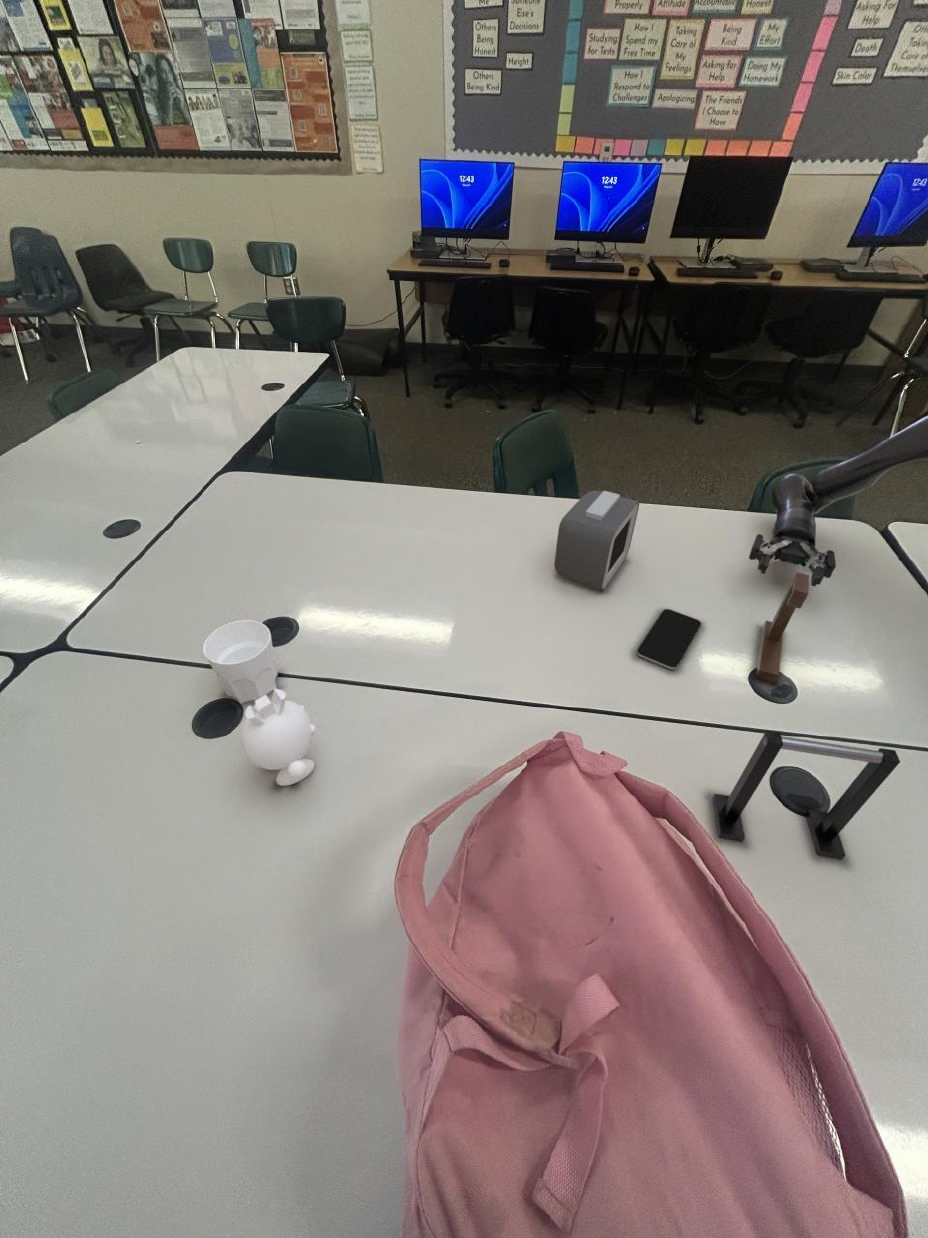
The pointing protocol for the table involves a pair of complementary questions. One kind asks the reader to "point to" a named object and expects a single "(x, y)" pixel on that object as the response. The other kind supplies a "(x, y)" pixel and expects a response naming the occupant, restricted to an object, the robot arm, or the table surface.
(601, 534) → the alarm clock
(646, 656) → the smartphone
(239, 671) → the cup
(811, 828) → the rack
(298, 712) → the toy robot
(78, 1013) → the table surface
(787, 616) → the hanger
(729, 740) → the table surface
